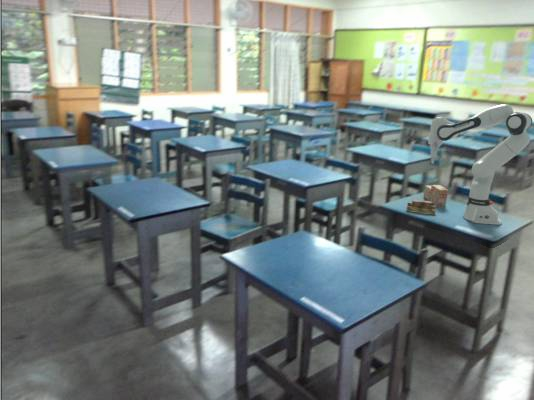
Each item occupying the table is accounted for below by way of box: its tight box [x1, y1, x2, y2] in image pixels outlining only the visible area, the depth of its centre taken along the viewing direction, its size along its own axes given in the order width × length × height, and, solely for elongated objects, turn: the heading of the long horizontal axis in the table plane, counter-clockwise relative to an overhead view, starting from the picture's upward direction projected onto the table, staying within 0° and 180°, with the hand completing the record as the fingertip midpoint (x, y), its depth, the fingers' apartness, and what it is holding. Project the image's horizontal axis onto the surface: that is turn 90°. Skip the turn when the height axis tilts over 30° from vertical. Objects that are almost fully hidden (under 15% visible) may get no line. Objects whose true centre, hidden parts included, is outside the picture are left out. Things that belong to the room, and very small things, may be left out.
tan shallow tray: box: [406, 202, 437, 216], centre depth 294 cm, size 18×10×3 cm, turn 70°
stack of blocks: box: [423, 184, 449, 207], centre depth 313 cm, size 21×6×12 cm, turn 7°
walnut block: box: [411, 199, 433, 209], centre depth 294 cm, size 12×4×6 cm, turn 76°
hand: (432, 162), depth 296 cm, fingers open, 8 cm apart
